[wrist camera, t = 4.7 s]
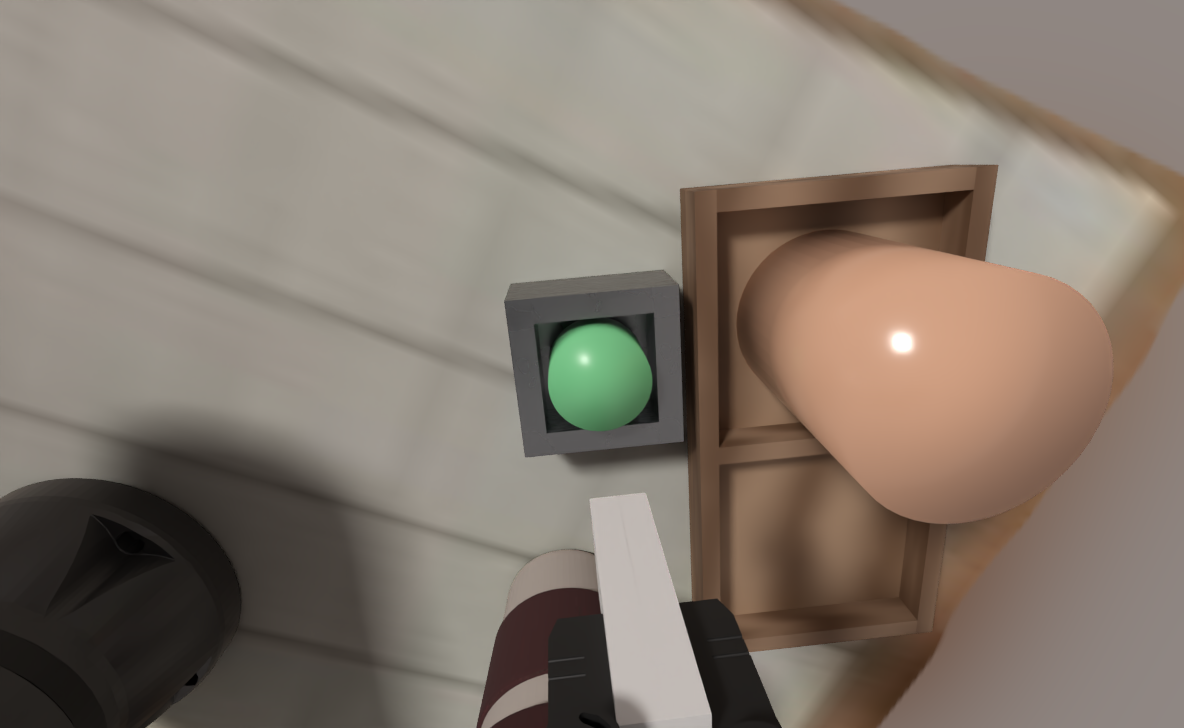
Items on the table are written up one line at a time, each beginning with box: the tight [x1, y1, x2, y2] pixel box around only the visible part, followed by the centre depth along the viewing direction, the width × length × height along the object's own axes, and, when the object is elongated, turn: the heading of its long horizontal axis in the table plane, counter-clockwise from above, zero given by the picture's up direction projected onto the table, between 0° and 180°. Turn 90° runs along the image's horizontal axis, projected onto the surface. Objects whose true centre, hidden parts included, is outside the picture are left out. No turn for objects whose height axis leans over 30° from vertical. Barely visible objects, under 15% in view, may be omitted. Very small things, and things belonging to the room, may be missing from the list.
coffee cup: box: [477, 550, 601, 728], centre depth 30 cm, size 10×10×15 cm
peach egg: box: [736, 229, 1114, 524], centre depth 25 cm, size 9×9×12 cm
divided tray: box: [680, 165, 998, 652], centre depth 32 cm, size 14×27×3 cm, turn 5°
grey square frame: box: [504, 270, 684, 457], centre depth 30 cm, size 8×8×4 cm
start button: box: [548, 317, 652, 431], centre depth 28 cm, size 5×5×3 cm
